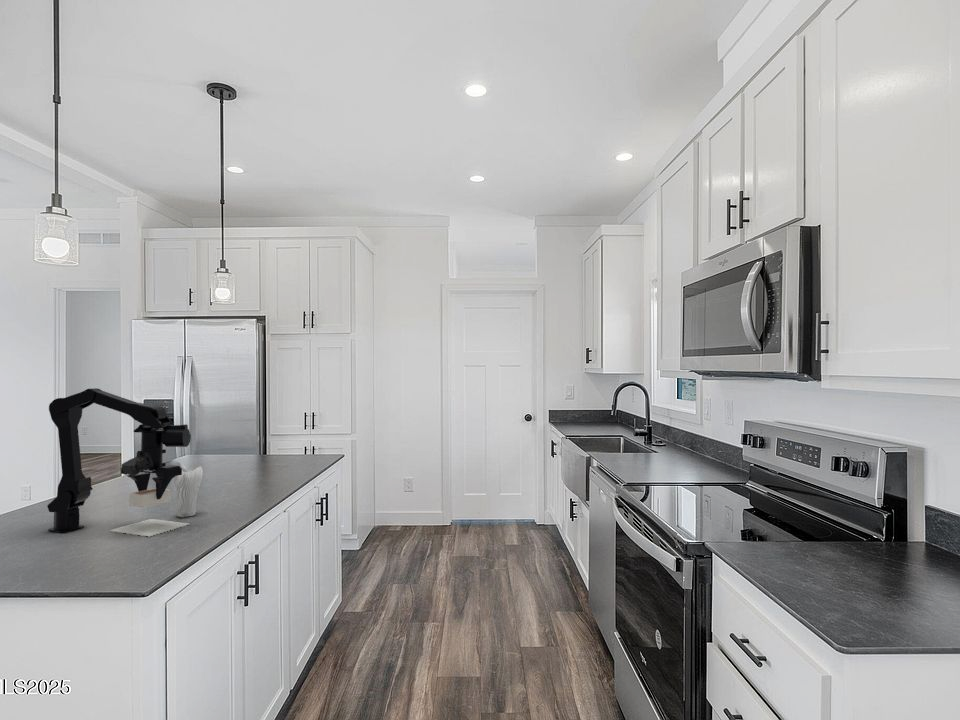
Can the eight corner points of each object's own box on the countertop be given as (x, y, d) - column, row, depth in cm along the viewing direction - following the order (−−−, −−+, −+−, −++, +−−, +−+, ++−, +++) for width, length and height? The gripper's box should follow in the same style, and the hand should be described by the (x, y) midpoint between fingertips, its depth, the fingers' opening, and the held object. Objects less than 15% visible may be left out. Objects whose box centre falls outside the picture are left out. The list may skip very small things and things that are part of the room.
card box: (157, 499, 175) (157, 486, 175) (170, 501, 173) (170, 488, 173) (129, 505, 167) (129, 491, 167) (143, 507, 165) (143, 494, 165)
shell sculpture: (204, 515, 185) (205, 461, 185) (177, 520, 179) (178, 464, 179) (194, 511, 191) (195, 458, 191) (168, 515, 185) (169, 461, 185)
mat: (109, 531, 166) (109, 530, 166) (151, 520, 179) (151, 518, 179) (149, 537, 161) (149, 535, 161) (189, 524, 174) (189, 523, 174)
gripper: (104, 448, 166) (103, 501, 166) (151, 452, 160) (150, 506, 159) (138, 444, 177) (137, 493, 176) (183, 447, 170) (182, 498, 170)
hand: (150, 498), depth 170 cm, fingers closed on card box, 6 cm apart
